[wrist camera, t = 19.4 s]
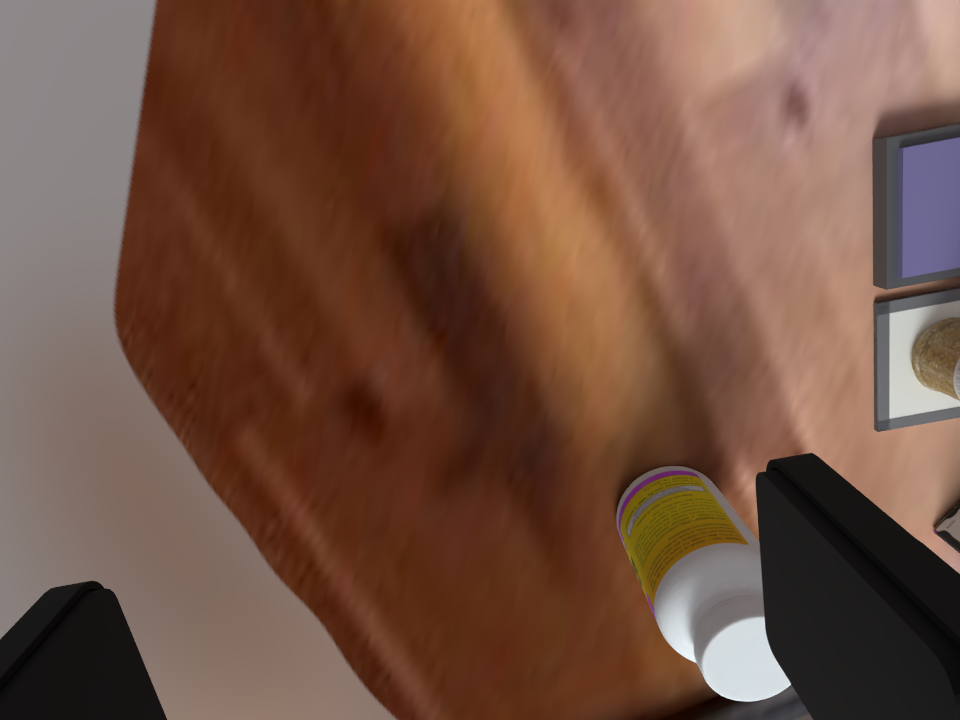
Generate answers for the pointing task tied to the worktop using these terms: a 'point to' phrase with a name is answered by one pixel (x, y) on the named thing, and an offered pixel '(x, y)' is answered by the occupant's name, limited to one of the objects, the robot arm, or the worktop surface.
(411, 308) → the worktop surface
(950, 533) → the candy bar box
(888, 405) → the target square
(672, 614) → the supplement bottle
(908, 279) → the ink pad
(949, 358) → the sprinkles bottle
